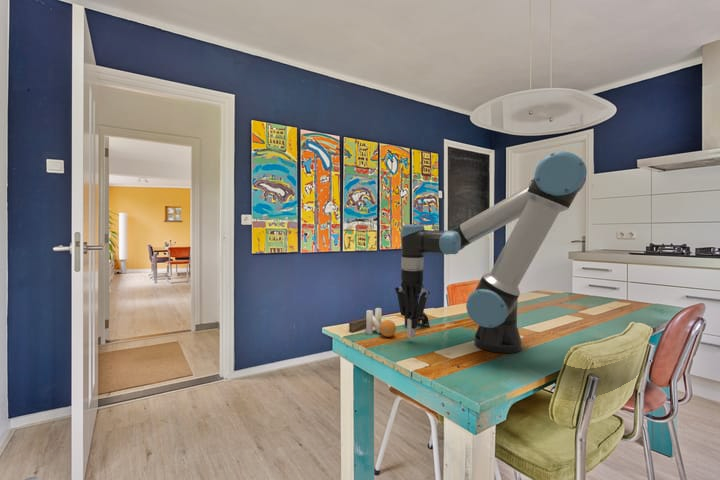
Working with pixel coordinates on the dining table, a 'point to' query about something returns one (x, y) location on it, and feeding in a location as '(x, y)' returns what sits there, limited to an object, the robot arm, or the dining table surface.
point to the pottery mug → (423, 319)
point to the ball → (387, 328)
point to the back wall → (357, 325)
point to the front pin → (376, 324)
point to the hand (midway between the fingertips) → (411, 336)
